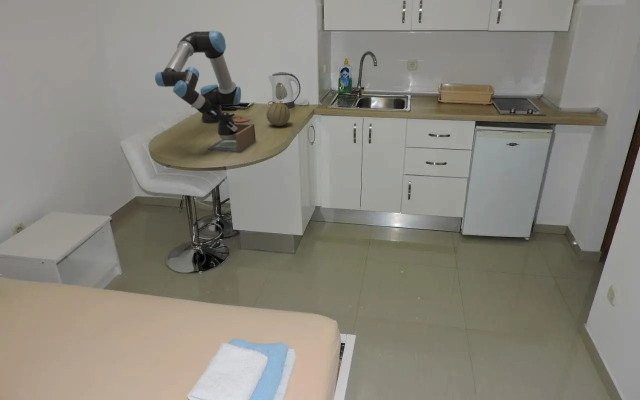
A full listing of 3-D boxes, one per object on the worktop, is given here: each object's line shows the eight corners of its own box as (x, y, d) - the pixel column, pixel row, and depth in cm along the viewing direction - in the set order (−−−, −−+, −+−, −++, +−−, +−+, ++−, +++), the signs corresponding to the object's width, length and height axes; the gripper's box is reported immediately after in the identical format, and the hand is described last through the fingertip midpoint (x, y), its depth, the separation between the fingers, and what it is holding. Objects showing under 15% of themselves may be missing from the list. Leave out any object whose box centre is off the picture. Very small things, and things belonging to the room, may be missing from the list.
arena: (207, 150, 247) (204, 132, 243) (225, 139, 264) (222, 122, 260) (240, 152, 241) (237, 134, 237) (255, 141, 259) (254, 124, 254)
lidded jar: (232, 130, 281) (230, 115, 277) (248, 127, 284) (247, 113, 280) (236, 134, 272) (234, 119, 268) (253, 132, 275) (251, 117, 271)
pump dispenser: (234, 141, 245) (231, 114, 238) (216, 141, 246) (212, 114, 240) (240, 136, 254) (237, 109, 248) (222, 136, 255) (218, 109, 249)
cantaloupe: (263, 128, 283) (261, 104, 276) (273, 121, 295) (271, 99, 289) (285, 129, 278) (283, 105, 272) (294, 123, 290) (292, 100, 284)
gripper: (190, 105, 243) (221, 128, 258) (203, 113, 226) (236, 137, 240) (198, 94, 244) (228, 118, 258) (212, 101, 227) (244, 126, 241)
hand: (232, 127), depth 249 cm, fingers closed on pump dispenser, 9 cm apart
